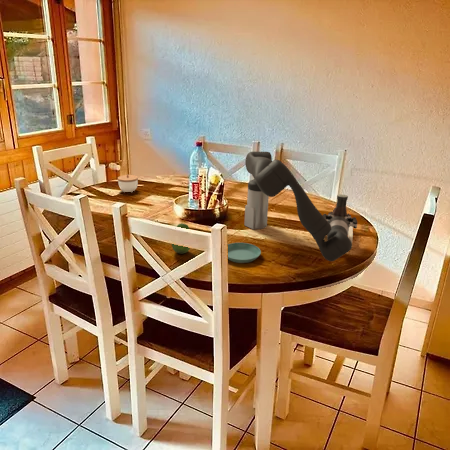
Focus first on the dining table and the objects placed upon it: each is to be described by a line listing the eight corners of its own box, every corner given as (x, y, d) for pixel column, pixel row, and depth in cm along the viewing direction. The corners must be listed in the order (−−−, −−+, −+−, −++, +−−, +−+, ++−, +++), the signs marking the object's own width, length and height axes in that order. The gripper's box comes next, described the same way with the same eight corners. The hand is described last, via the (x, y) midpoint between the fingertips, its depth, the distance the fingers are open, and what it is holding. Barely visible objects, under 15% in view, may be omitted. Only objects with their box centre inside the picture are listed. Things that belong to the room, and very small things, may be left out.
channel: (351, 246, 168) (353, 235, 166) (320, 242, 171) (321, 231, 169) (352, 230, 184) (353, 219, 182) (323, 227, 187) (324, 216, 185)
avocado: (193, 256, 157) (193, 226, 152) (172, 257, 155) (171, 227, 151) (190, 247, 164) (190, 218, 160) (170, 248, 162) (169, 220, 158)
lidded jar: (122, 187, 236) (121, 171, 233) (141, 188, 235) (140, 172, 232) (115, 193, 226) (114, 176, 223) (134, 194, 225) (133, 177, 222)
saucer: (221, 265, 151) (221, 259, 150) (221, 248, 164) (221, 242, 163) (262, 266, 151) (262, 259, 150) (258, 248, 165) (259, 242, 164)
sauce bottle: (335, 245, 168) (340, 198, 161) (324, 240, 173) (330, 194, 166) (347, 243, 171) (353, 196, 164) (337, 237, 176) (342, 192, 169)
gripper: (317, 236, 159) (320, 221, 174) (356, 241, 155) (356, 225, 170) (319, 217, 156) (322, 204, 171) (359, 222, 152) (359, 208, 167)
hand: (339, 214), depth 170 cm, fingers closed on sauce bottle, 6 cm apart
